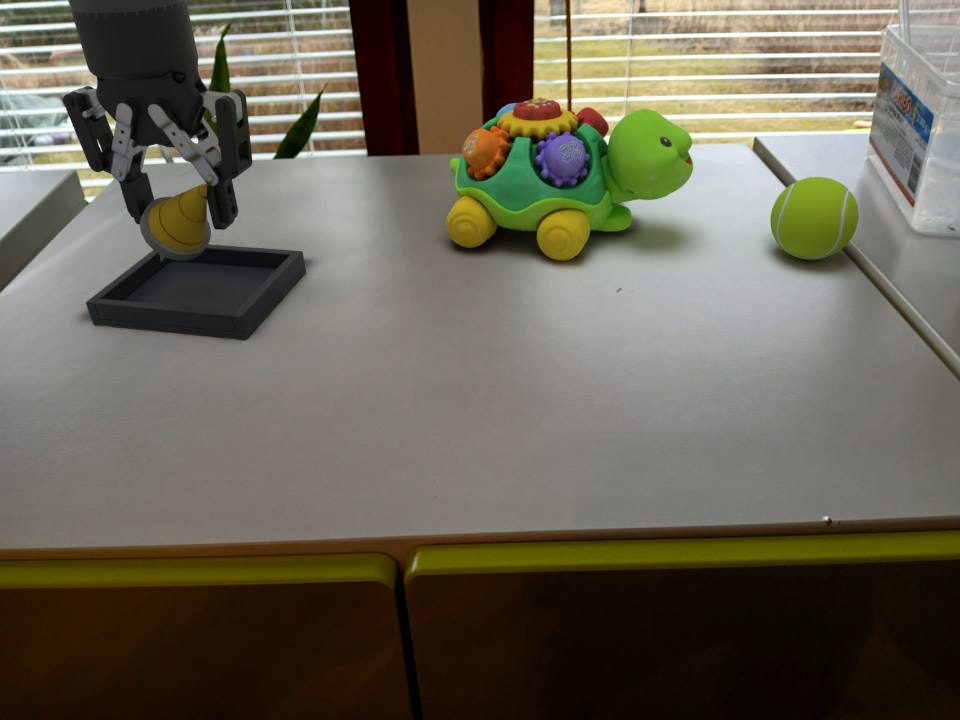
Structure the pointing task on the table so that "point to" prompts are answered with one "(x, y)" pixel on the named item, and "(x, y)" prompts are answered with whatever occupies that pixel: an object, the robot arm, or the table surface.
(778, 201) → the tennis ball
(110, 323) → the black tray
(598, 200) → the turtle toy
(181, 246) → the yellow spinning top
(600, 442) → the table surface
